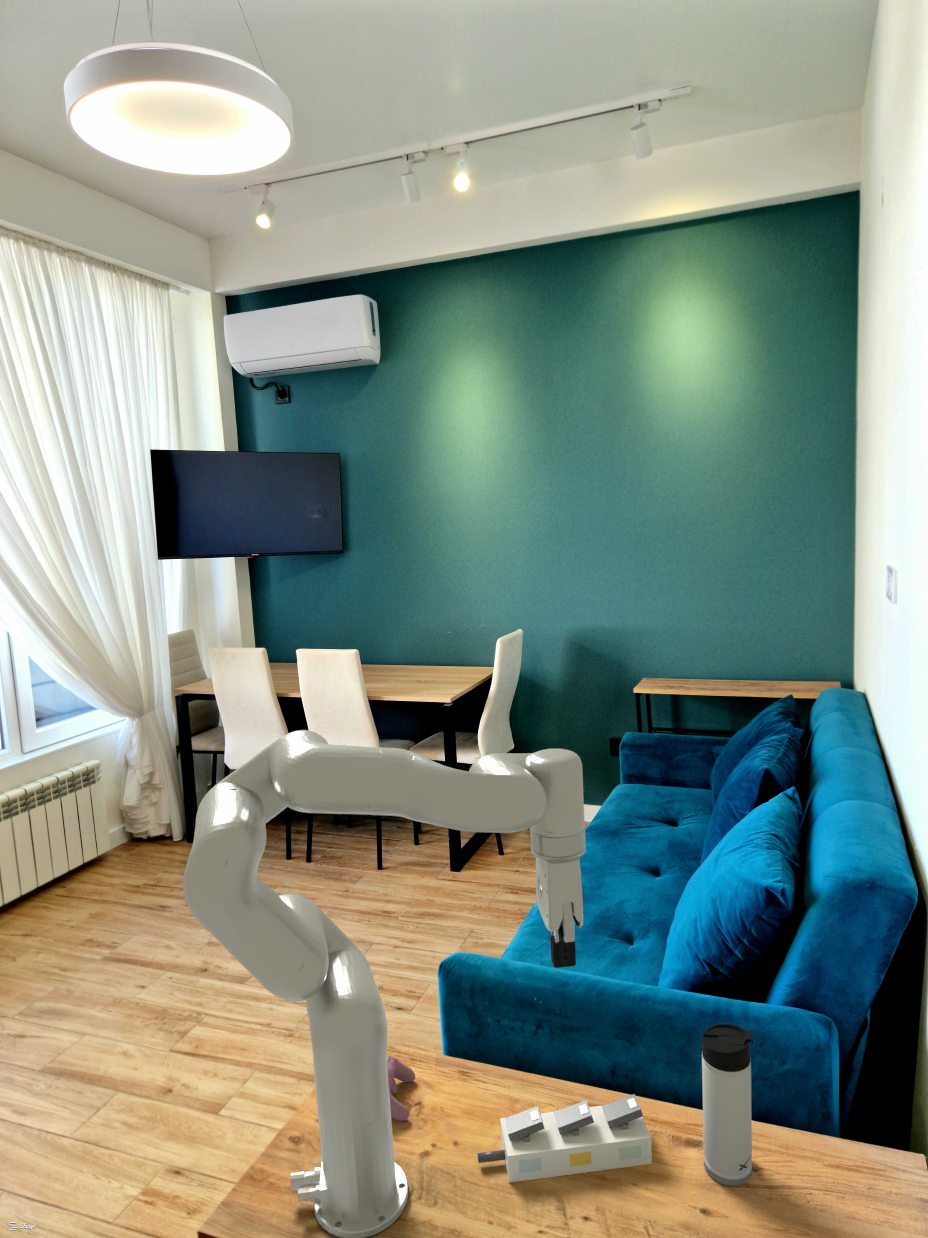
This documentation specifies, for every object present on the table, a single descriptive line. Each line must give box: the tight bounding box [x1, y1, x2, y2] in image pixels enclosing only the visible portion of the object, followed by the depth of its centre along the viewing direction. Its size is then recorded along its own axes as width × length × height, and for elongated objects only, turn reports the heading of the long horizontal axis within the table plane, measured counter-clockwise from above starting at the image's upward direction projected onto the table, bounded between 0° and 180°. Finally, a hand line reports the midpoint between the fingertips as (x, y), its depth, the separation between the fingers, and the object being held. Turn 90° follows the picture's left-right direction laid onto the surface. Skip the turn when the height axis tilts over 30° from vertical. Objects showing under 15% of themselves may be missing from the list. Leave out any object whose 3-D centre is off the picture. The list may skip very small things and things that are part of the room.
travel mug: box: [701, 1023, 754, 1187], centre depth 109 cm, size 6×7×20 cm
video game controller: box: [387, 1055, 416, 1122], centre depth 127 cm, size 10×5×7 cm, turn 177°
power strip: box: [476, 1104, 653, 1184], centre depth 114 cm, size 24×7×5 cm, turn 96°
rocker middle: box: [552, 1099, 594, 1135], centre depth 114 cm, size 5×3×1 cm, turn 95°
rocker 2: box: [601, 1093, 644, 1129], centre depth 115 cm, size 5×3×1 cm, turn 95°
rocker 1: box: [504, 1105, 545, 1141], centre depth 114 cm, size 5×3×1 cm, turn 95°
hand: (563, 963), depth 114 cm, fingers closed
